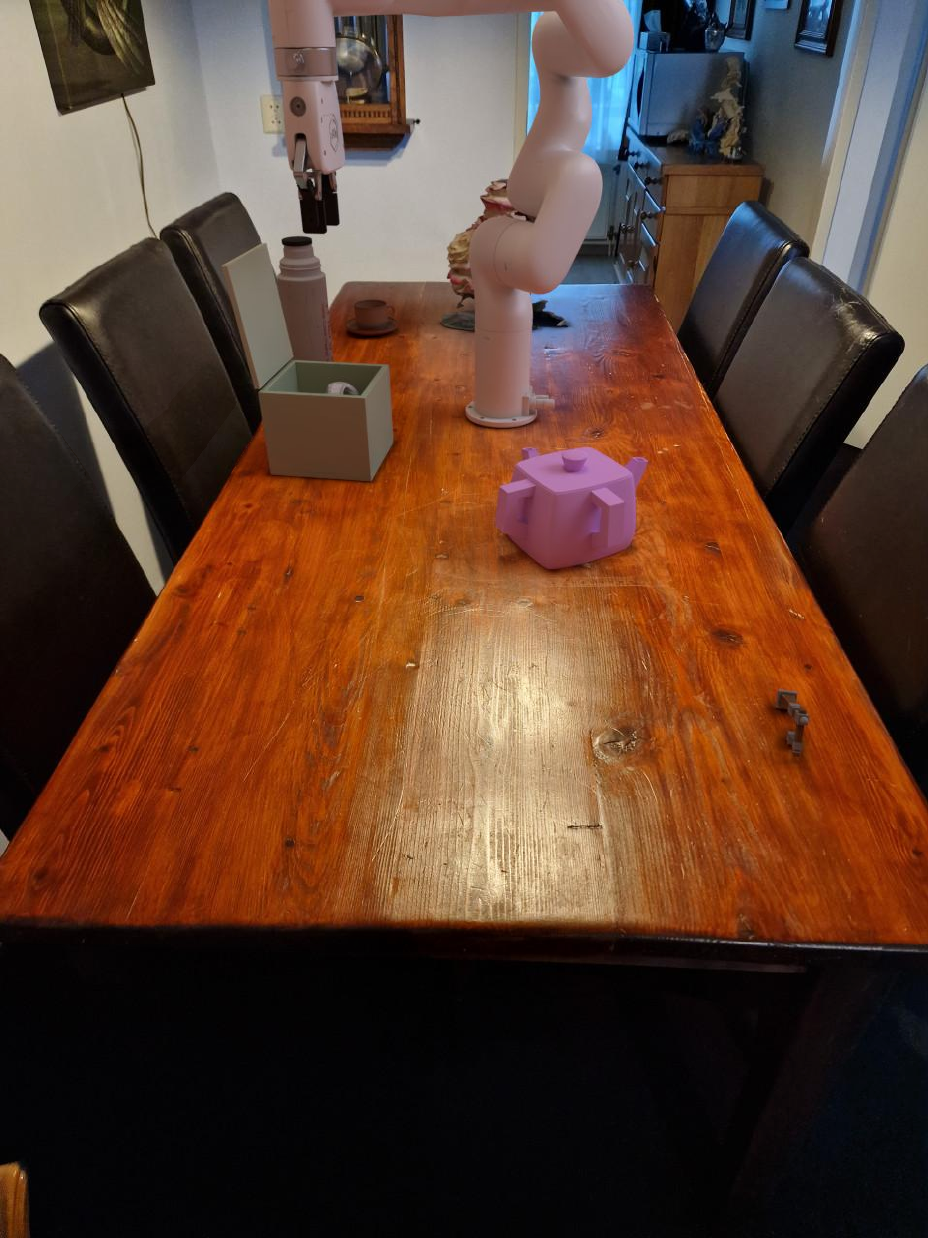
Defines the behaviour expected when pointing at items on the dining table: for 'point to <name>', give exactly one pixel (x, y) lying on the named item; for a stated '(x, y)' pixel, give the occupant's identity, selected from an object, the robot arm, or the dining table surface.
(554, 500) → the teakettle
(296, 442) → the grey open box
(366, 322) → the cup and saucer
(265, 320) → the lid
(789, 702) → the grey jointed linkage
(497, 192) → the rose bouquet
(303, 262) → the thermos bottle
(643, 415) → the dining table surface
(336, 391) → the watch
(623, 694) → the dining table surface
